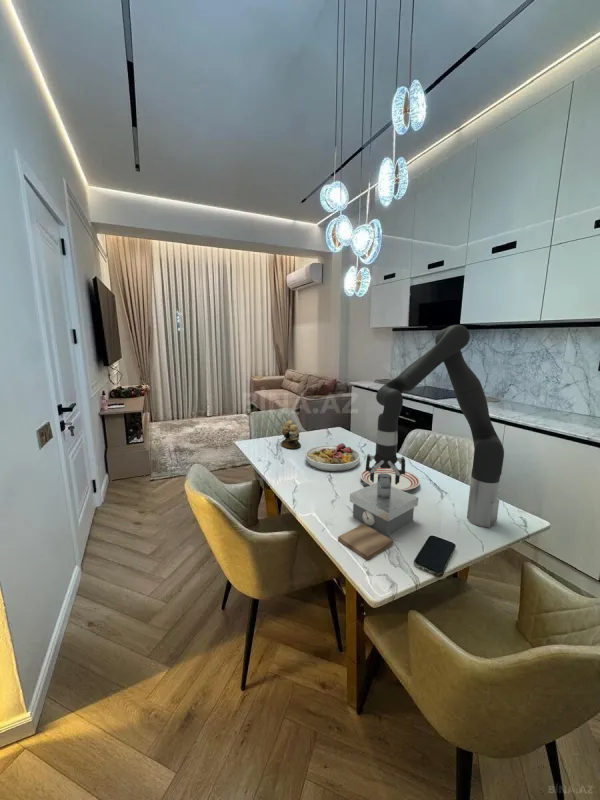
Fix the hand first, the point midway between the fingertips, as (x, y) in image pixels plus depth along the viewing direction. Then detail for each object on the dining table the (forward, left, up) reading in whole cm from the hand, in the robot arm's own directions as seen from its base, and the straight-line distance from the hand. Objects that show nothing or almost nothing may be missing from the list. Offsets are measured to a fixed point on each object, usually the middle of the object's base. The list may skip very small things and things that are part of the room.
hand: (384, 482), depth 124 cm
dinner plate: (+18, -28, -15) cm, 36 cm away
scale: (0, 0, -15) cm, 15 cm away
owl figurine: (+91, -24, -15) cm, 95 cm away
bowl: (+54, -25, -15) cm, 61 cm away
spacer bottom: (0, 0, -5) cm, 5 cm away
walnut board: (-6, +17, -15) cm, 23 cm away
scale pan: (0, 0, -8) cm, 8 cm away
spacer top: (0, 0, -1) cm, 1 cm away
